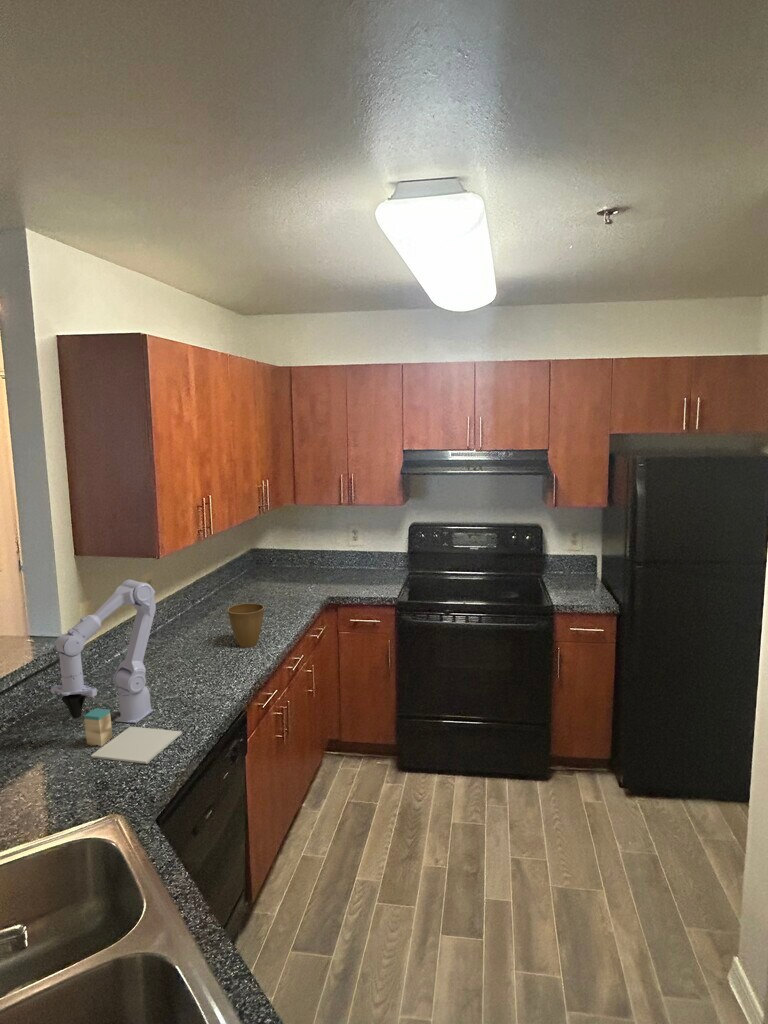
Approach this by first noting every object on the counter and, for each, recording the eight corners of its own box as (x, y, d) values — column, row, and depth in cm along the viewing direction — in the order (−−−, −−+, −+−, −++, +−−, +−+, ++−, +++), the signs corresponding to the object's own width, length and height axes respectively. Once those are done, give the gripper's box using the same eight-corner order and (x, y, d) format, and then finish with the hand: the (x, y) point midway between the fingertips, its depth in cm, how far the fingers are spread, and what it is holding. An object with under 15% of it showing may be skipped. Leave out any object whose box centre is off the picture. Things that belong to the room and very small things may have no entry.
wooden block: (98, 736, 199) (95, 708, 197) (112, 738, 197) (109, 709, 196) (87, 744, 194) (84, 715, 193) (101, 746, 193) (98, 717, 191)
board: (130, 728, 203) (130, 726, 203) (182, 733, 199) (181, 731, 199) (90, 757, 186) (90, 755, 186) (146, 763, 181) (146, 761, 181)
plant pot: (223, 650, 271) (221, 612, 269) (240, 638, 285) (237, 602, 283) (257, 651, 268) (254, 613, 265) (271, 639, 282) (269, 603, 280)
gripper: (41, 677, 193) (46, 721, 195) (83, 680, 189) (88, 725, 191) (59, 668, 200) (63, 710, 201) (99, 671, 196) (104, 714, 198)
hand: (76, 717), depth 197 cm, fingers closed
